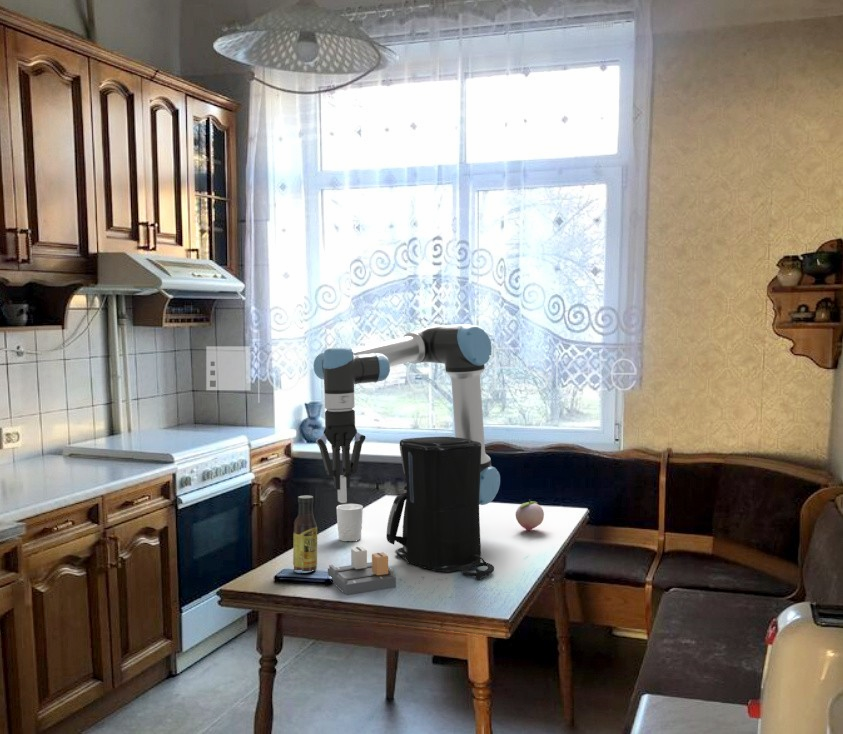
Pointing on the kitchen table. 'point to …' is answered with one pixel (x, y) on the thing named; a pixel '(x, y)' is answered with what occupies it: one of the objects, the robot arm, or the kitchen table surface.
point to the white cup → (349, 521)
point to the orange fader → (380, 563)
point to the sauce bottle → (305, 536)
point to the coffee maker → (440, 505)
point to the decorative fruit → (529, 515)
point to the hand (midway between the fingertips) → (342, 501)
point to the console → (360, 579)
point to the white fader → (359, 557)
